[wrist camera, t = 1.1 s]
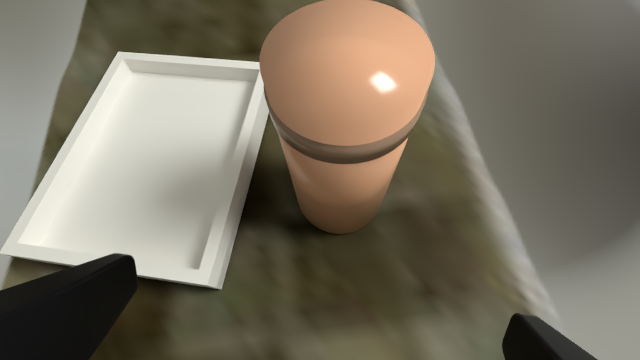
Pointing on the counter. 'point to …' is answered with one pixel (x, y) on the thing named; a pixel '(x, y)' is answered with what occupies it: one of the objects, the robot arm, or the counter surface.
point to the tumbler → (345, 103)
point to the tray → (152, 170)
